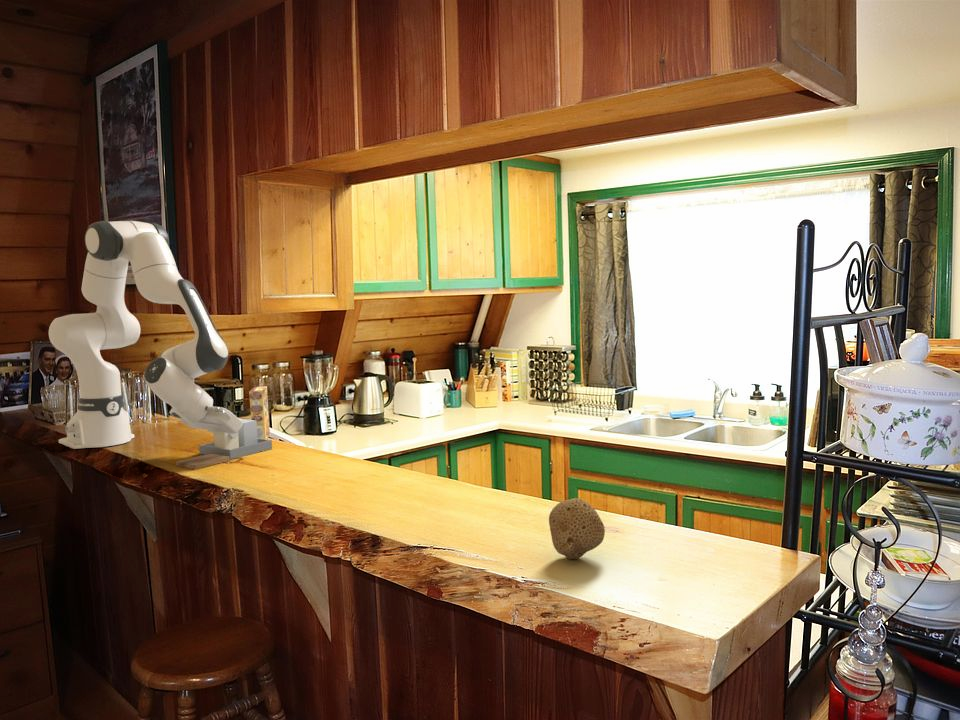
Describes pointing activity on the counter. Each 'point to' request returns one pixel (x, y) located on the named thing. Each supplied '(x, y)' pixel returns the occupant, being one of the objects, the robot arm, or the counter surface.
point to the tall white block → (248, 433)
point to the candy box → (260, 411)
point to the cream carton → (225, 440)
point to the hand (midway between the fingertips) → (228, 435)
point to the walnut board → (202, 461)
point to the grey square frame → (236, 449)
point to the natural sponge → (575, 528)
